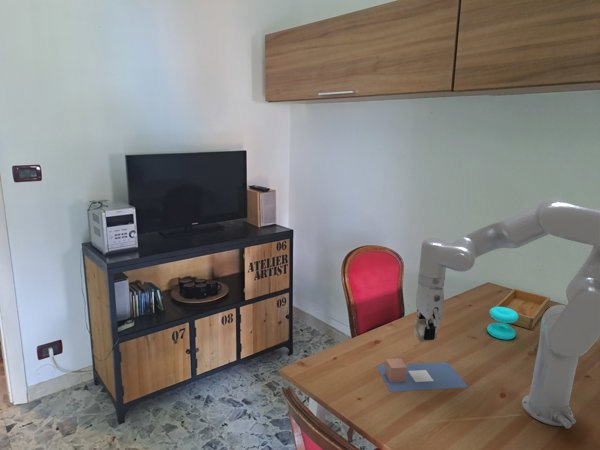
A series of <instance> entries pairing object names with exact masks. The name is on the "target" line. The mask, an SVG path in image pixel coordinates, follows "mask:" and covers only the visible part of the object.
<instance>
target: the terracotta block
mask: <svg viewBox="0 0 600 450" xmlns="http://www.w3.org/2000/svg"><path fill="white" fill-rule="evenodd" d="M405 364H406V363H405V362H404V360H403V359H402V358H387V359H385V365H386V367H385V374H386V376H387V378H388V380H389V381H390V383H392V382H406V373H407V366H406V365H405Z"/></svg>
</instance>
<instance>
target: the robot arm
mask: <svg viewBox="0 0 600 450" xmlns="http://www.w3.org/2000/svg"><path fill="white" fill-rule="evenodd" d="M549 235H551V236H553V237H557V238H559V239H563V240H564V239H565V240H568V241H572V242H576V243H581V244H586V245H590V246H592V249H591V251H590V253H589V255H588V257H587V258H586V260H585V261H584V263H583V264H582V266H581V267H580V268H579V270H578V271H577V273H576V274H575V275H574V276H573V278H572V279H571V280H570V281H569V283H568V285H567V286H566V289H565V295H566V299H567V301H568V302H567V304H566V305H564V304H557V305H553V306H551V307H548V308H547V310H546V311H545V312H544V313H543V315H542V316H541V317H542V318H541V321H540V326H541V328H540V327H539V337H540V338H539V337H538V339H539V345H538V351H537V353H536V356H535V357H536V358H535V363H534V368H533V375H532V379H531V380H532V381H531V385H530V390H529V394H528V395H524V397H523V398H522V401H521V405H522V407H523V409H524V410H525V411H526V412H527V414H528V415H529V416H530V417H532V418H533V419H536V420H537V421H539V422H541V423H544V424H546V425H550V426H555V427H563V428H565V429H567V430H568V429H570V428H571V427H572V426H573V425H574V424H576V423H577V420H576V419H575V418H574V413H573V412H572V408H571V406H570V400H571V394H572V390H573V385H574V381H575V380H574V379H575V376H576V371H577V367H578V362H579V357H581V356H583V355H585V353H587V352H589V351H590V349H591V348H592V347H593V346H594V345H595V343H596V342H597V341H598V340H599V339H600V206H598V207H595V208H589V207H585V206H581V205H577V204H572V203H571V202H570V201H568V200H567V199H565V198H564V197H560V196H553V197H549V198H545V199H544V200H541V201H540V202H537V203H535V204H533V205H531V206H529V207H526V208H525V209H522V210H520V211H518V212H516V213H514V214H512V215H510V216H508V217H506V218H505V217H504V219H501V220H498V221H495V222H493V223H491V224H488V225H485V226H483V227H480V228H478V229H475V230H474V231H471V232H470V233H467V234H466V235H463V236H461V237H459V238H457V239H456V240H455V241H453V243H452V244H451V245H450V244H449V243H448V242H447V241H445V240H443V239H440V238H426V239H424V240H423V241H422V243H421V249H420V259H419V268H418V269H419V270H418V278H417V284H418V286H417V290H416V296H415V308H416V311H417V315H416V317H417V319H426V327H425V331H424V340H434V338H435V330H436V328H437V326H438V327H439V326H440V325H441V320H442V319H443V317H444V307H445V306H444V305H445V293H444V292H445V291H444V287H445V279H446V271H447V269H449V270H452V271H454V272H460V273H462V272H467V271H469V270H471V269H472V268H473V267H474V265H475V262H476V258H479V257H480V256H483V255H485V254H487V253H490V252H493V251H495V250H499V249H517V248H521V247H523V246H525V245H528V244H530V243H532V242H534V241H536V240H537V241H538V240H540V239H541V238H543V237H545V236H549ZM430 320H432V321H433V322H432V323H430ZM437 329H438V328H437Z"/></svg>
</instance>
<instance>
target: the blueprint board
mask: <svg viewBox="0 0 600 450" xmlns="http://www.w3.org/2000/svg"><path fill="white" fill-rule="evenodd" d="M405 365H406V366H407V373H406V382H392V383H390V381H389V380H388V378H387V376H386V374H385V367H386V364H383V365H380V364H379V365H376V368H377V370H378V372H379V374H380V376H381V377H382V379H383V381H384V383H385V384H386V386H387V388H388V390H389V392H391V393H396V392H399V393H400V392H413V391H431V390H449V389H465V388H469V386H468V384H467V383H466V382H465V380H463V379H462V377H461V376H460V375H459V374H458V373H457V372H456V370H455V369H454V368H453V366H451V364H450V363H449V362H448V361H447V362H446V361H443V362H441V361H440V362H425V363H424V362H423V363H405Z"/></svg>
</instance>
